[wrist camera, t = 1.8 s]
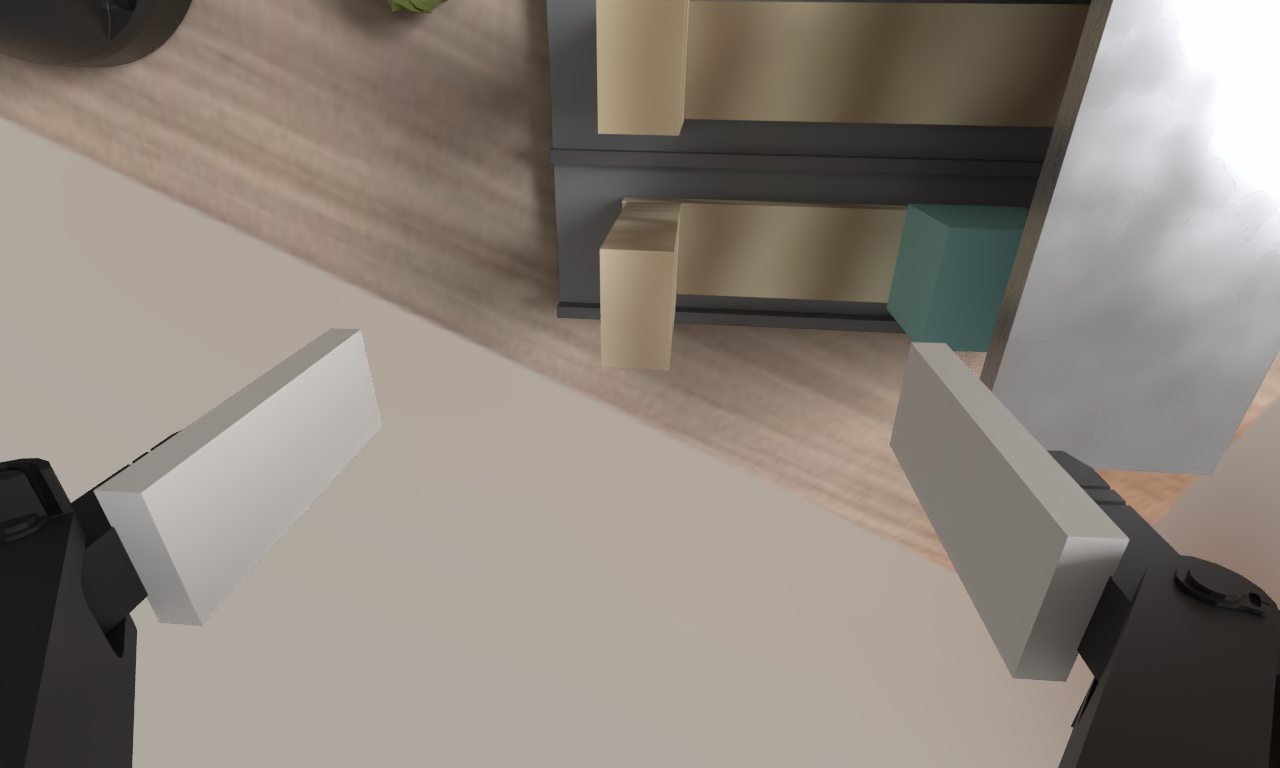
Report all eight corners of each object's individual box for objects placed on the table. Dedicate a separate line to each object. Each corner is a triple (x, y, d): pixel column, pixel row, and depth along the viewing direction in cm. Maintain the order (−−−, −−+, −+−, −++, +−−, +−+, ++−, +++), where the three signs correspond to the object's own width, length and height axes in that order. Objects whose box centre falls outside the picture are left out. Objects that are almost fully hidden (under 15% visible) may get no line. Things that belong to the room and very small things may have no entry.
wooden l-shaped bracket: (624, 284, 32) (594, 367, 22) (624, 196, 30) (592, 248, 20) (1015, 300, 30) (1151, 395, 21) (1042, 209, 28) (1206, 271, 19)
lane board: (564, 305, 34) (557, 317, 32) (550, -42, 27) (539, -50, 25) (1011, 324, 32) (1030, 338, 31) (1124, -39, 25) (1156, -48, 23)
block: (886, 308, 30) (919, 349, 25) (908, 203, 27) (948, 227, 23) (992, 313, 29) (1045, 354, 25) (1023, 207, 27) (1087, 232, 23)
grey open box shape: (875, 327, 33) (970, 461, 21) (954, -69, 25) (1173, -196, 14) (1048, 335, 32) (1242, 477, 21) (1185, -69, 25) (1620, -202, 13)
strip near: (625, 115, 28) (590, 133, 19) (625, 3, 26) (586, -37, 17) (1068, 125, 27) (1260, 149, 18) (1104, 8, 25) (1341, -34, 16)
